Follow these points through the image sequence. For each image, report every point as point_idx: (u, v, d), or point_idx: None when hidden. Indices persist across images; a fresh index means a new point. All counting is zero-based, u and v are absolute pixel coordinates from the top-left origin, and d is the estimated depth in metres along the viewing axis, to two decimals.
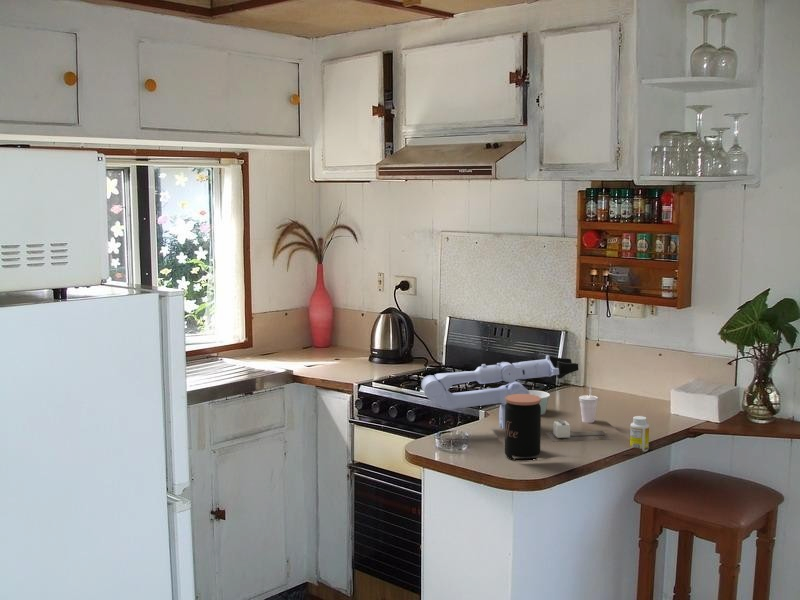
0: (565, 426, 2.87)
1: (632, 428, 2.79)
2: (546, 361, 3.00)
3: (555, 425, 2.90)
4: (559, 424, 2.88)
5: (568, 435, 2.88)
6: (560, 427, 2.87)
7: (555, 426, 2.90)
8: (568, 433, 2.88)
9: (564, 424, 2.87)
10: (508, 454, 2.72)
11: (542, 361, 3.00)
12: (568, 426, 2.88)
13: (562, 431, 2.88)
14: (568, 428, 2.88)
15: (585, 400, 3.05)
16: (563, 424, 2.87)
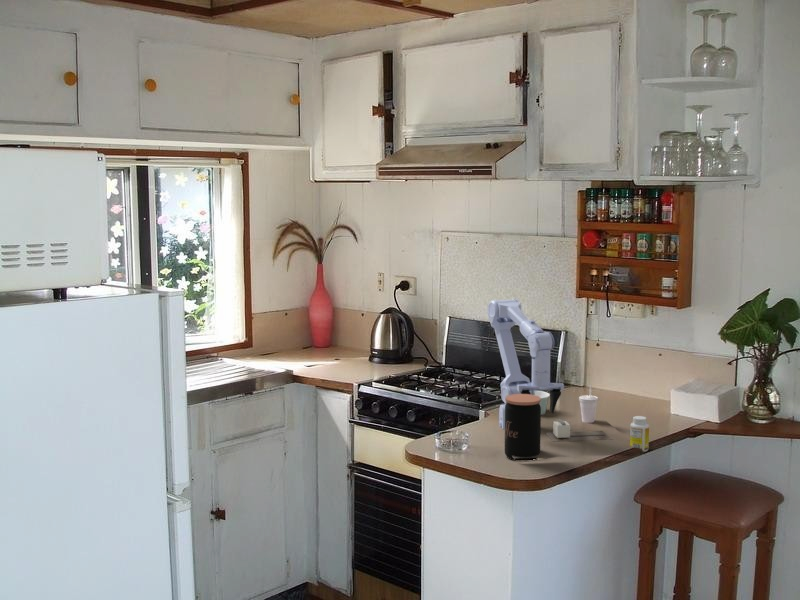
0: (565, 426, 2.87)
1: (632, 428, 2.79)
2: (538, 384, 2.85)
3: (555, 425, 2.90)
4: (559, 424, 2.88)
5: (568, 435, 2.88)
6: (560, 427, 2.87)
7: (555, 426, 2.90)
8: (568, 433, 2.88)
9: (564, 424, 2.87)
10: (508, 454, 2.72)
11: (538, 380, 2.85)
12: (568, 426, 2.88)
13: (562, 431, 2.88)
14: (568, 428, 2.88)
15: (585, 400, 3.05)
16: (563, 424, 2.87)
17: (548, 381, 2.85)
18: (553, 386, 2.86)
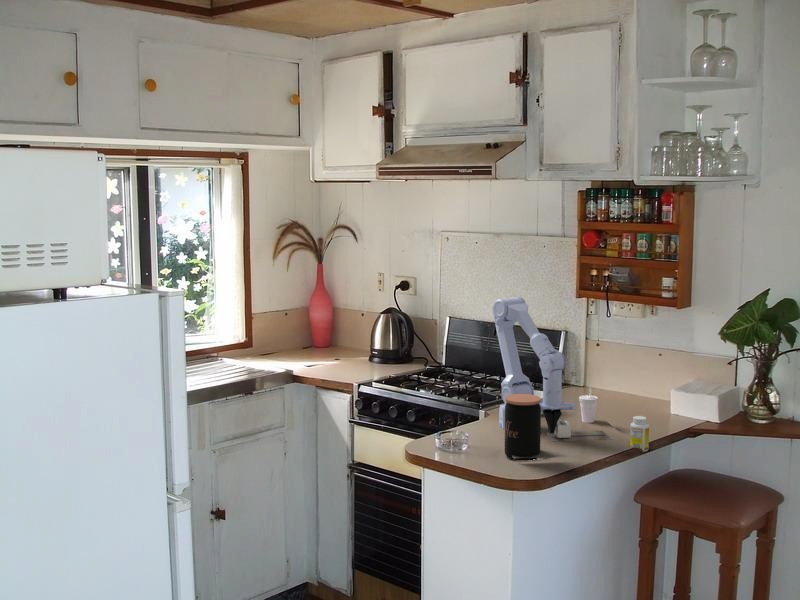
0: (566, 426, 2.87)
1: (632, 428, 2.79)
2: (549, 404, 2.86)
3: (556, 425, 2.90)
4: (560, 424, 2.88)
5: (569, 435, 2.88)
6: (561, 427, 2.87)
7: (556, 426, 2.90)
8: (569, 433, 2.88)
9: (565, 424, 2.87)
10: (508, 454, 2.72)
11: (550, 400, 2.86)
12: (569, 426, 2.88)
13: (563, 431, 2.88)
14: (569, 428, 2.88)
15: (585, 400, 3.05)
16: (564, 424, 2.87)
17: (559, 401, 2.87)
18: (564, 406, 2.87)
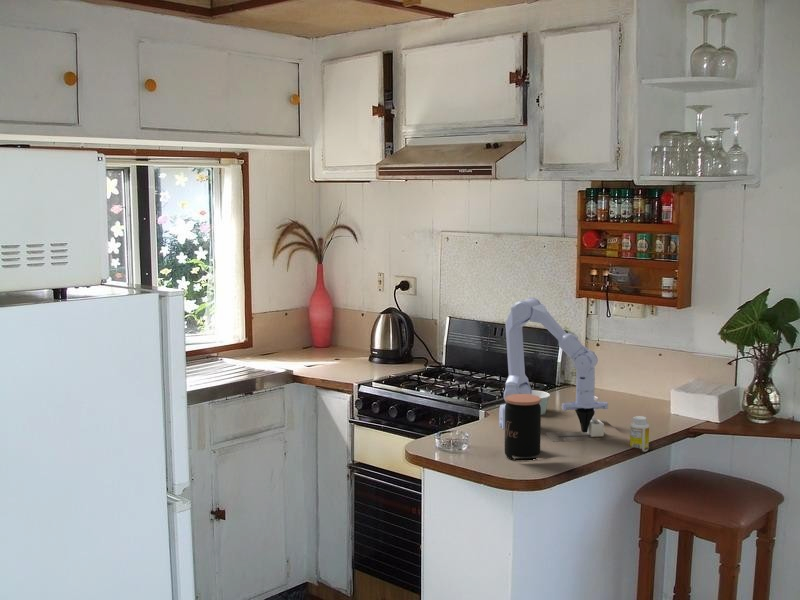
0: (599, 425, 2.89)
1: (632, 428, 2.79)
2: (582, 403, 2.87)
3: (589, 424, 2.91)
4: (593, 423, 2.89)
5: (602, 434, 2.89)
6: (594, 426, 2.88)
7: (589, 425, 2.91)
8: (602, 432, 2.89)
9: (598, 423, 2.88)
10: (508, 454, 2.72)
11: (583, 399, 2.87)
12: (602, 425, 2.89)
13: (596, 430, 2.89)
14: (602, 427, 2.89)
15: None
16: (597, 423, 2.88)
17: (592, 400, 2.88)
18: (597, 405, 2.88)
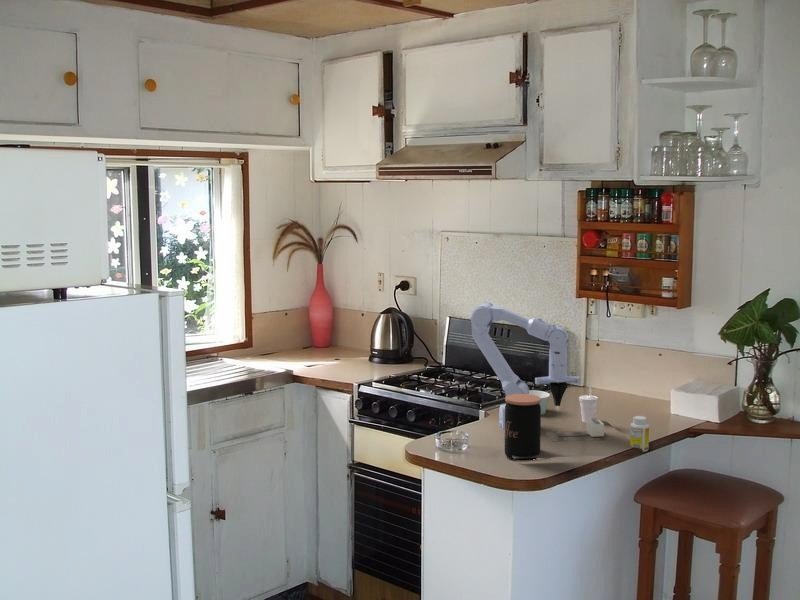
0: (599, 425, 2.89)
1: (632, 428, 2.79)
2: (555, 377, 2.94)
3: (589, 424, 2.91)
4: (593, 423, 2.89)
5: (602, 434, 2.89)
6: (594, 426, 2.88)
7: (589, 425, 2.91)
8: (602, 432, 2.89)
9: (598, 423, 2.88)
10: (508, 454, 2.72)
11: (556, 373, 2.94)
12: (602, 425, 2.89)
13: (596, 430, 2.89)
14: (602, 427, 2.89)
15: (585, 400, 3.05)
16: (597, 423, 2.88)
17: (565, 374, 2.95)
18: (570, 379, 2.96)
